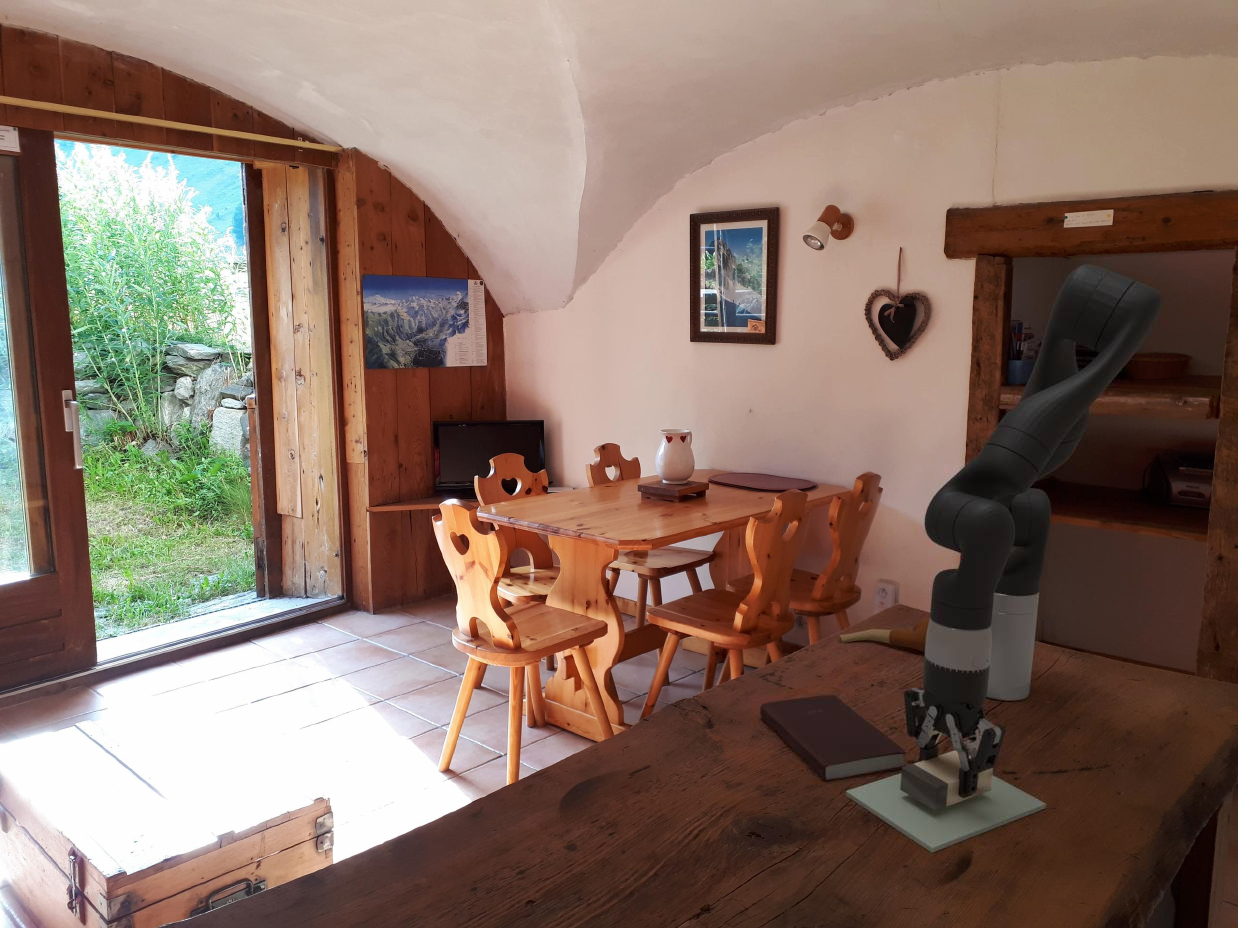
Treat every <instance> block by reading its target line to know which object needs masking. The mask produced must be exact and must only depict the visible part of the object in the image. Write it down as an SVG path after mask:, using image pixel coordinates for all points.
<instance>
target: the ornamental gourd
mask: <svg viewBox="0 0 1238 928" xmlns="http://www.w3.org/2000/svg"><path fill="white" fill-rule="evenodd" d="M929 620H930V618H927V617H926V618H922V619H919V620H918V621H916V622H915V624H914V626H913V630H912V631H911V630H910V631H909V630H898V629H880V628H879V629H878V628H872V629H867V630H862V631H856V632H852V633H847V634H840V635H839V642H840V643H841V644H845V643H850V642H856V641H875V642H881V643H886V644H890V645H891V646H892V645H893V646H898V647H905V648H913V649H915V650H918V651H920V652H922V653H925V645H926V635H927V629H928V625H929Z"/></svg>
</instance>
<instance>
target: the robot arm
mask: <svg viewBox="0 0 1238 928" xmlns="http://www.w3.org/2000/svg"><path fill="white" fill-rule="evenodd" d="M1162 307H1163V295H1162V293H1161V292H1160V291H1159V290H1158V289H1155V288H1154V287H1152V286H1149V285H1147V284H1145V283H1143V282H1140V281H1138V280H1134V279H1132V278H1130V277H1127V276H1124V275H1122V274H1120V273H1117V272H1114V271H1111V270H1110V269H1107V268H1104V267H1102V266H1098V265H1094V264H1090V263H1089V264H1085V263H1084V264H1082V265H1080V266H1078V267H1076V268H1075V269H1073V271H1072V272H1070V274H1069V275H1068V276H1067V278H1066V279H1065V281H1064V283H1062V286H1061V288H1060V290H1059V291H1058V294H1057V295H1056V298H1055V301H1054V302H1053V306H1052V309H1051V312H1050V315H1049V318H1048V322H1047V325H1046V327H1045V331H1044V333H1043V334H1044V335H1043V338H1042V342H1041V345H1040V348H1039V352H1038V355H1037V356H1036V357H1037V358H1036V361H1035V363H1034V367H1033V369H1032V371H1031V374H1030V377H1029V379H1028V380H1027V383H1026V385H1025V388H1024V390H1023V392H1022V394H1021V396H1020V399H1019V401H1018V403H1017V404H1016V405H1014V406H1013V407H1012V408H1011V409H1010V410H1009V411H1008V412H1007V413H1006V414H1004V416H1003V417H1002V418H1001V420H1000V421H999V423H997V426H996V428H995V429H994V431H993V432H992V433H991V434H990V436H989V438H988V439H987V441H986V442H985V444H984V445H983V446H982V448H981V450H980V452H979V454H977V455H976V457H974V458H973V459H972V460H971V461H970V462H968V463H967V464H966V465H964V466H963V467H962V468H961V469H960V470H959V471H957V473H955V474H954V475H953V476H952V477H951V478H950V479H949V480H948V481H947V482H946V483H944V485H942V487H940V489H939V490H938V491H937V492H936V493H935V494H934V496H933V497H932V499H931V500H930V502H929V503H928V506H927V509H926V512H925V515H924V529H925V533H926V536H927V537H928V538H929V540H931V542H933V543H934V544H936V545H938V546H940V547H942V548H945V549H947V550H948V549H949V550H951V551H954V552H956V553H959V554H961V559H960V563H959V565H958V567H957V568H949V569H943V570H941V571H940V572H938V573H936V575H935V577H934V579H933V582H932V588H931V597H930V598H931V601H930V611H929V619H930V620H929V625H928V629H927V635H926V645H925V652H924V659H923V674H922V675H923V676H922V683H921V685H922V686H919V687H913V688H910V689H907V690H905V691H904V692H903V697H904V698H903V699H904V709H905V710H904V711H905V718H906V719H905V720H906V722H905V723H906V732H907V735H908V736H909V737H911V738H915V739H916V740H917V744H918V746H919V755H918V756H919V757H918V762H921V761H924V760H925V761H926V760H930V759H933V758H936V757H938V756H939V748H940V747H939V746H938V745H936V744H937V743H938V742H939V740H940V738H941V736H942V734H945V735H946V736H947V737H949V738H950V739H951V742H952V747H953V749H954V750H953V751H957V752H958V756H959V761H960V765H961V768H959V792H958V795H959V796H960V797H962V798H966V797H969V796H971V795H973V793H976V791H977V785H978V783H977V782H978V774H979V773H980V772H983V771H986V770H988V769H991V768H993V769H994V768H995V766H996V763H997V761H998V757H999V754H1000V751H1001V748H1002V745H1003V742H1004V739H1005V735H1006V732H1007V731H1006V728H1005V727H1004V726H1003V725H1002V724H999V725H994V724H993V723H992V722H990V721H988V720H987V719H986V713H985V711H984V703H985V701H986V698H990V699H994V700H999V701H1020V700H1021V701H1022V700H1025V699H1026V698H1028V697H1029V695H1030V689H1031V688H1030V687H1031V678H1032V669H1033V668H1032V667H1033V658H1034V648H1035V640H1036V631H1037V630H1036V629H1037V628H1036V627H1037V619H1038V607H1039V600H1040V599H1039V598H1040V596H1039V595H1040V588H1041V582H1042V578H1043V574H1044V567H1045V561H1046V560H1045V559H1046V553H1047V548H1048V547H1047V546H1048V542H1049V536H1050V530H1051V519H1052V507H1051V501H1050V499H1049V497H1048V495H1047V493H1046V492H1045V491H1044V490H1042V489H1040V488H1033V487H1032V486H1033V485H1034V484H1035V483H1036V482H1037V481H1039V480H1040V479H1042V478H1044V477H1046V476H1048V475H1049V474H1051V473H1052V472H1054V471H1055V470H1057V469H1058V468H1059V467H1061V466H1062V465H1063V464H1065V463H1066V462H1067V461H1068V460H1069V459H1070V458H1071V457H1072V455H1073V454H1074V452H1075V451H1076V449H1077V448H1078V445H1079V442H1080V441H1081V439H1082V437H1083V434H1084V432H1085V431H1086V428H1087V426H1088V424H1089V419H1090V408H1091V406H1092V405H1093V404H1094V403H1095V402H1096V400H1097V399H1098V398H1099V397H1100V396H1101V395H1102V394H1103V392H1104V391H1105V390H1106V389H1107V388H1108V387H1109V385H1110V384H1111V383H1112V381H1113V380H1115V377H1117V375H1118V374H1120V373H1121V371H1122V370H1123V368H1124V367H1125V366H1126V365H1127V364H1128V362H1129V361H1130V360H1131V359H1132V357H1133V356H1134V355H1135V354H1136V353H1137V351H1138V350H1139V348H1140V347H1141V346H1142V345H1143V343H1144V342H1145V340H1146V339H1147V338H1148V335H1149V334H1150V333H1151V331H1152V329H1153V328H1154V327H1155V323H1156V322H1157V319H1158V317H1159V315H1160V312H1161V311H1162V310H1161V309H1162ZM1077 344H1079V345H1080V346H1084V347H1086V348H1088V349H1090V350H1093V351H1095V352H1097V353H1098V354H1097V355H1096V357H1094V358H1093V359H1092V360H1091V361H1090V363H1088V364H1087V365H1086V366H1085V367H1083V369H1081V370H1079V368H1078V363H1077V356H1076V346H1077ZM1031 487H1032V488H1031ZM1013 547H1014V549H1013ZM979 731H980V732H979ZM967 738H968V740H966V741H963V740H964V739H967ZM969 756H970V757H971V758H970V759H969Z"/></svg>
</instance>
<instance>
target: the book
mask: <svg viewBox="0 0 1238 928" xmlns="http://www.w3.org/2000/svg"><path fill="white" fill-rule="evenodd" d="M759 714H760V717H761V719H762V720H763V722H765V723H766V725H768V726H769V727H770V728H771V729H772V730H773V731H774V732H775V733H776V734H777V735H778V736H779V737H780V738H781V739H782V740H783V742H785V743H786V744H787V745H788V746H789V747H790V748H791V749H792V750H793V751H794V752H795V753H796V755H798V756H799V757H800V758H801V759H802V760H803V761H804V762H805V763H806V765H808V767H810V769H812V771H814V773H816V774H817V776H818V777H819V778H820V779H821V780H822V781H824V782H828V781H830V780H834V779H849V778H855V777H863V776H869V775H876V774H882V773H883V774H884V773H888V772H895V771H899V770H901V771H902V767H905V766H906V765H905V764H904V755H906V754H907V751H906V750H905V749H903V748H902V747H901V746H900V745H898V744H897V743H896V742H895V741H894V740H892V739H891V738H890V737H889V736H887V735H886V734H885V733H883V732H882V730H879V729H878V728H877V727H876V726H874V725H873V724H872V723H870V721H868V720H866V719H865V718H864V717H863V716H861V715H860V714H859V713H858V712H857V711H855V710H854V709H852V708H851V707H850V706H849V705H848V704H846V703H845V701H843V700H841V699H840V698H839V697H837V696H836V695H835V694H834V695H833V694H827V695H815V696H808V697H798V698H792V699H784V700H777V701H771V702H765V703H762V704H761V705H760V713H759Z"/></svg>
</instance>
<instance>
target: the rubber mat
mask: <svg viewBox="0 0 1238 928" xmlns="http://www.w3.org/2000/svg"><path fill="white" fill-rule="evenodd" d="M901 773H902V772H900V773H898V774H895V775H891V776H888V777H886V778H882V779H879V780H877V781H876V780H875V781H873V782H870V783H866V784H864V785H861V786H858V787H855V788H850V789H848V790H846V791H845V796H846V797H847V798H849V799H850V800H852V801H853V802H855V803H856V804H858V805H859V806H861V807H862V808H864V809H865V810H867V811H868V812H870V813H871V814H873V815H874V816H875V817H877V818H879V819H880V820H881V821H883V822H885V823H886V824H888V825H890V826H891V827H892V828H893V829H895V830H897V831H898V832H900V833H901V834H902V835H905V836H906V837H907V838H909V839H910V840H912V841H914V842H915V843H917V844H918V845H920V846H921V847H923V848H924V849H926V850H927V851H928V852H930V853H931V854H932V853H935V852H937V851H940V850H943V849H946V848H948V847H950V846H953V845H955V844H958V843H960V842H963V841H966V840H969V839H970V838H973V837H977V836H979V835H982V834H983V833H986V832H989V831H991V830H993V829H997V828H998V827H1002V826H1003V825H1006V824H1009V823H1011V822H1014V821H1017V820H1019V819H1022V818H1024V817H1027V816H1029V815H1032V814H1035V813H1037V812H1039V811H1042V810H1044V809H1046V808H1047V803H1045V802H1043V801H1041V800H1040V799H1037V798H1036V797H1034V796H1032V795H1031V794H1029V793H1027V792H1024V791H1023V790H1021V789H1019V788H1017V787H1015V786H1014V785H1012V784H1010V783H1008V782H1006V781H1004V780H1003V779H1000V778H999V777H997V776H996V775H995V776H994V775H993V774H992V785H991V791H988V792H985V793H983V794H980V795H977V796H974V797H972V798H969V799H966V800H963V801H960V802H958V803H955V804H952V805H949V806H947V807H944V808H941V809H938V810H936V811H934V810H932V809H931V808H929V807H928V806H926V805H924V804H923V803H921V802H919V801H918V800H916V799H914V798H913V797H911V796H910V795H908V794H906V793H905V792H903V791H901V790H900V786H901Z"/></svg>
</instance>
